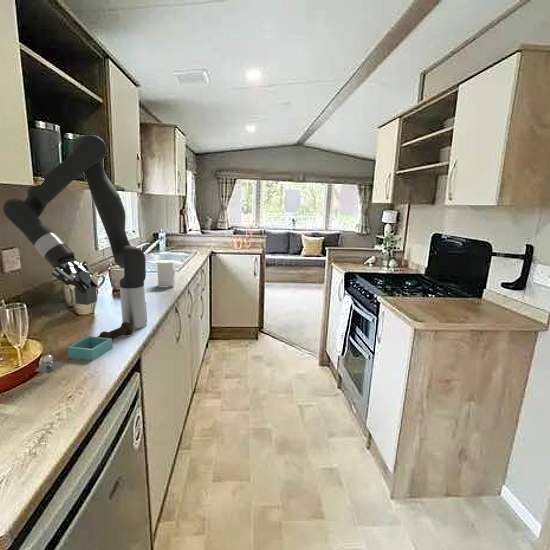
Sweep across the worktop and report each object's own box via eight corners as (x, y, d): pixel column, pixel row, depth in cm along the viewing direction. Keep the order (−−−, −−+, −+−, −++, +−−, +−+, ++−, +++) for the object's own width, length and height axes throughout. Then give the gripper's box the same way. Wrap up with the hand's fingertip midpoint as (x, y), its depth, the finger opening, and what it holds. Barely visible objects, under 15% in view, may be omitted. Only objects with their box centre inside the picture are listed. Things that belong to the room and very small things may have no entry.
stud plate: (48, 364, 118) (46, 349, 117) (67, 367, 116) (66, 351, 115) (30, 375, 111) (28, 358, 110) (50, 377, 110) (48, 361, 109)
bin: (90, 349, 130) (89, 336, 129) (113, 352, 128) (111, 338, 127) (69, 361, 120) (67, 347, 119) (93, 364, 118) (92, 350, 117)
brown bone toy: (94, 351, 133) (128, 337, 146) (101, 347, 130) (135, 333, 143) (87, 337, 133) (121, 323, 146) (94, 333, 130) (128, 319, 143)
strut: (85, 300, 123) (82, 269, 120) (97, 301, 122) (94, 270, 120) (75, 303, 118) (72, 272, 116) (87, 304, 117) (84, 273, 115)
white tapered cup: (173, 287, 218) (172, 262, 215) (158, 287, 217) (156, 262, 213) (175, 283, 227) (174, 259, 224) (160, 284, 225) (159, 260, 222)
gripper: (42, 245, 111) (81, 287, 111) (77, 240, 124) (111, 277, 125) (29, 261, 113) (67, 303, 113) (65, 255, 127) (98, 291, 127)
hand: (90, 289), depth 119 cm, fingers closed on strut, 4 cm apart
